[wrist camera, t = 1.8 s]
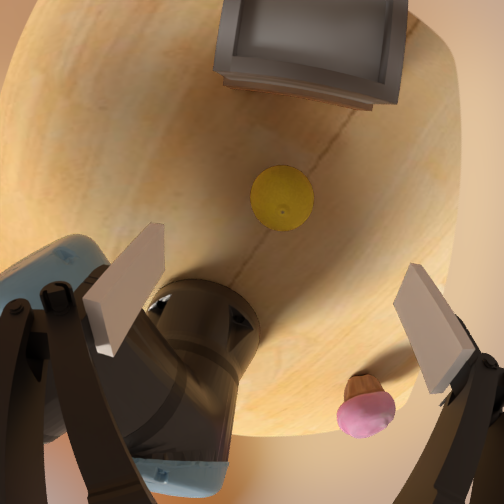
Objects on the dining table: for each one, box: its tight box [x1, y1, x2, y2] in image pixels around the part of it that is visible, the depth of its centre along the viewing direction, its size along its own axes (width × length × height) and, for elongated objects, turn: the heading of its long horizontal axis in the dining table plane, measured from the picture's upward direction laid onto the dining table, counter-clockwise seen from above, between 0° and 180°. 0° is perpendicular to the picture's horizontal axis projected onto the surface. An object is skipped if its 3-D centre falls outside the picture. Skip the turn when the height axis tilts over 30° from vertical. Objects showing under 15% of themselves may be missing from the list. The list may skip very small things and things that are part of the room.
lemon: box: [250, 165, 314, 231], centre depth 26 cm, size 6×6×8 cm
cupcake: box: [337, 374, 396, 438], centre depth 38 cm, size 9×9×10 cm
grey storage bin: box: [213, 0, 408, 111], centre depth 17 cm, size 12×12×12 cm
